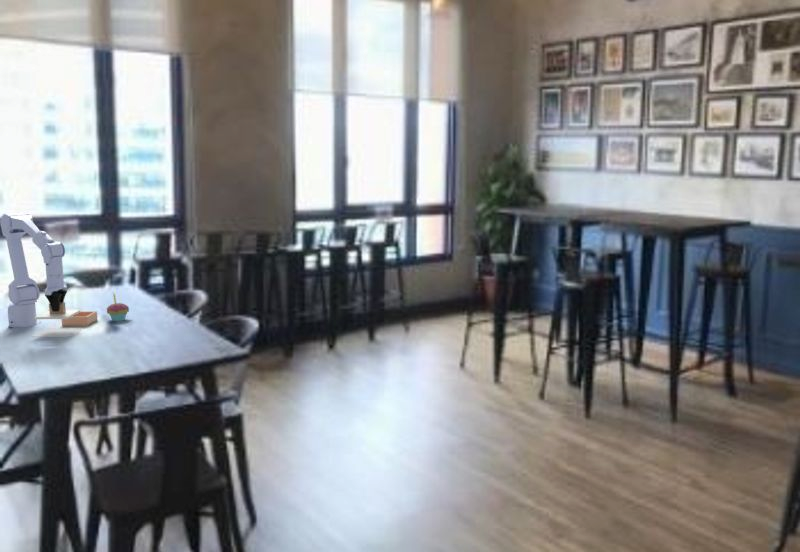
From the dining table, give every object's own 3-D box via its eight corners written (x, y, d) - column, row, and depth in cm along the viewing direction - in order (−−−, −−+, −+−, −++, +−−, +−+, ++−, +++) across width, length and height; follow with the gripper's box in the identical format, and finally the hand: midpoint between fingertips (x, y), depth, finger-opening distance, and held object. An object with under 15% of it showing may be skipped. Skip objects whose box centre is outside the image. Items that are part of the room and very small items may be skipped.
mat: (31, 337, 276) (31, 336, 276) (48, 328, 290) (48, 327, 290) (70, 337, 277) (70, 336, 276) (85, 328, 290) (84, 327, 290)
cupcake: (121, 323, 299) (120, 293, 297) (102, 322, 301) (100, 293, 299) (133, 318, 308) (132, 290, 306) (114, 317, 309) (113, 289, 307)
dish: (62, 327, 293) (61, 316, 292) (72, 321, 303) (71, 311, 302) (88, 326, 293) (87, 316, 293) (97, 321, 303) (96, 311, 302)
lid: (34, 319, 276) (33, 306, 275) (48, 312, 288) (47, 299, 287) (67, 318, 276) (66, 306, 276) (80, 311, 288) (79, 299, 287)
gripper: (57, 278, 272) (60, 314, 275) (73, 271, 287) (75, 306, 289) (37, 278, 272) (40, 314, 275) (54, 271, 287) (57, 306, 289)
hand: (57, 310), depth 282 cm, fingers closed on lid, 2 cm apart
